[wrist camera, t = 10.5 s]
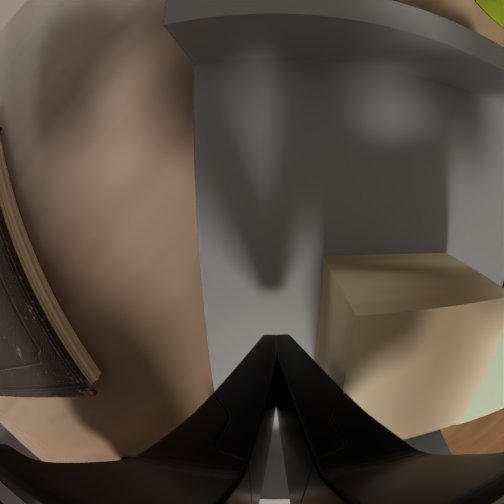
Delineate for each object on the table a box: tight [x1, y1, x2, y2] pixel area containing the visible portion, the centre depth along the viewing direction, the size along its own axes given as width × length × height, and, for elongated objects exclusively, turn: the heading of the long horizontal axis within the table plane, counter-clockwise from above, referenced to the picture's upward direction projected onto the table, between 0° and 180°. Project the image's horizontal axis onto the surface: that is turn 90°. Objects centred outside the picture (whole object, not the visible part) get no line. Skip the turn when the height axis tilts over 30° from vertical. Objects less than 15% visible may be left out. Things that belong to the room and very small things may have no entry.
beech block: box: [315, 253, 504, 440], centre depth 8 cm, size 5×5×4 cm
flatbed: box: [163, 0, 504, 504], centre depth 9 cm, size 13×20×4 cm, turn 1°
